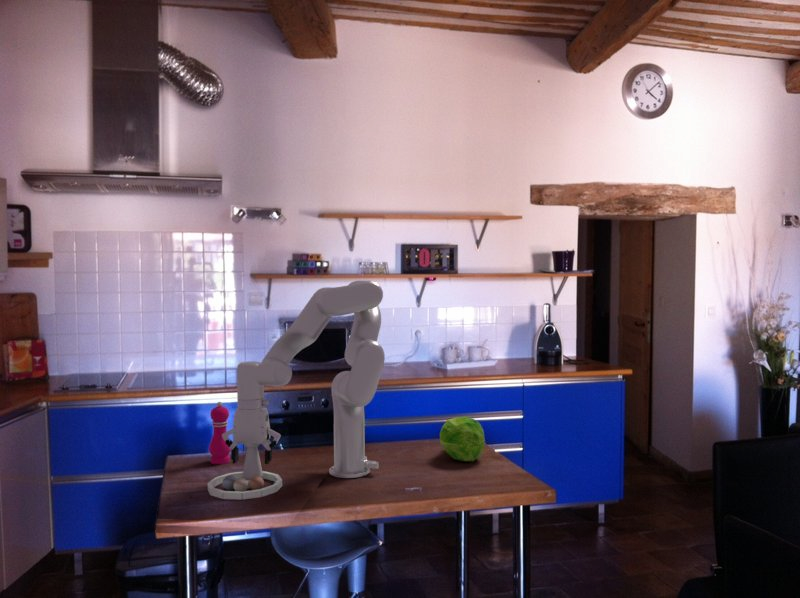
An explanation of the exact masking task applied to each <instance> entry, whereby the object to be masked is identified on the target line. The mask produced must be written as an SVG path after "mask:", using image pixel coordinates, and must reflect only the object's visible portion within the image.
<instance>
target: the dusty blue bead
mask: <svg viewBox="0 0 800 598" xmlns="http://www.w3.org/2000/svg"><path fill="white" fill-rule="evenodd" d="M235 480H237V479H236V478H235V477H234V476H232V475H229V476H226V477H225V478H224V479H223V482H222V483H221V484H222V487H223V488H224V489H225V490H226V491H233V490H234V487H233V485H234V482H235Z"/></svg>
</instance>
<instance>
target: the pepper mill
mask: <svg viewBox="0 0 800 598" xmlns="http://www.w3.org/2000/svg"><path fill="white" fill-rule="evenodd" d="M210 411H211V412H210V419H211V420H212V422H211V425H212V427H213V435H212V437H211V440H210V442H209V445H208V446H209V447H208V452H209V453H210V455H211V456H210V463H211V464H213V465H224V464H228V463H230V462H231V455H230V454H231V450H230V448H229V446H228V445H227V444H226V443H225V441H224V439H223V437H222V434H223V433H225V432H227V427H228V425H229V424H228V423H229V421H228V419H229V417H230V411H229V409H228V407H226V406H223V402H221V401H218V402H217V403H216V406H215V407H213V408H212V409H211V410H210Z"/></svg>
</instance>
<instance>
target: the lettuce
mask: <svg viewBox="0 0 800 598" xmlns="http://www.w3.org/2000/svg"><path fill="white" fill-rule="evenodd" d="M485 438H486V437H485V431H484V429H483V426H482V424H481V423H480V422H479V421H477V420H476V419H475V418H473V417H468V416H461V417H459V416H458V417H454V418H450V419H447V420H446V421H445V422H444V424H443V425H442V426H441V429H440V431H439V443H440V445H441V447H442V449H443V450H444V451H445V453H446V454H447V455H449V456H450V458H452V460H453V459H454V460H457V461H460V462H475V460H476V459H477V458H478V457H479V456H480V455H481V454H482V452H483V451H484V449H485V445H486V439H485Z"/></svg>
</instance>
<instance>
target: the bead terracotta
mask: <svg viewBox="0 0 800 598" xmlns="http://www.w3.org/2000/svg"><path fill="white" fill-rule="evenodd" d="M264 480H265V479H264V478H261V477H259V476H255V477H253V478H252V479H251V480H250V488H249V489H250V490H258V489H262V488H264V486H265V481H264Z"/></svg>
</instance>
